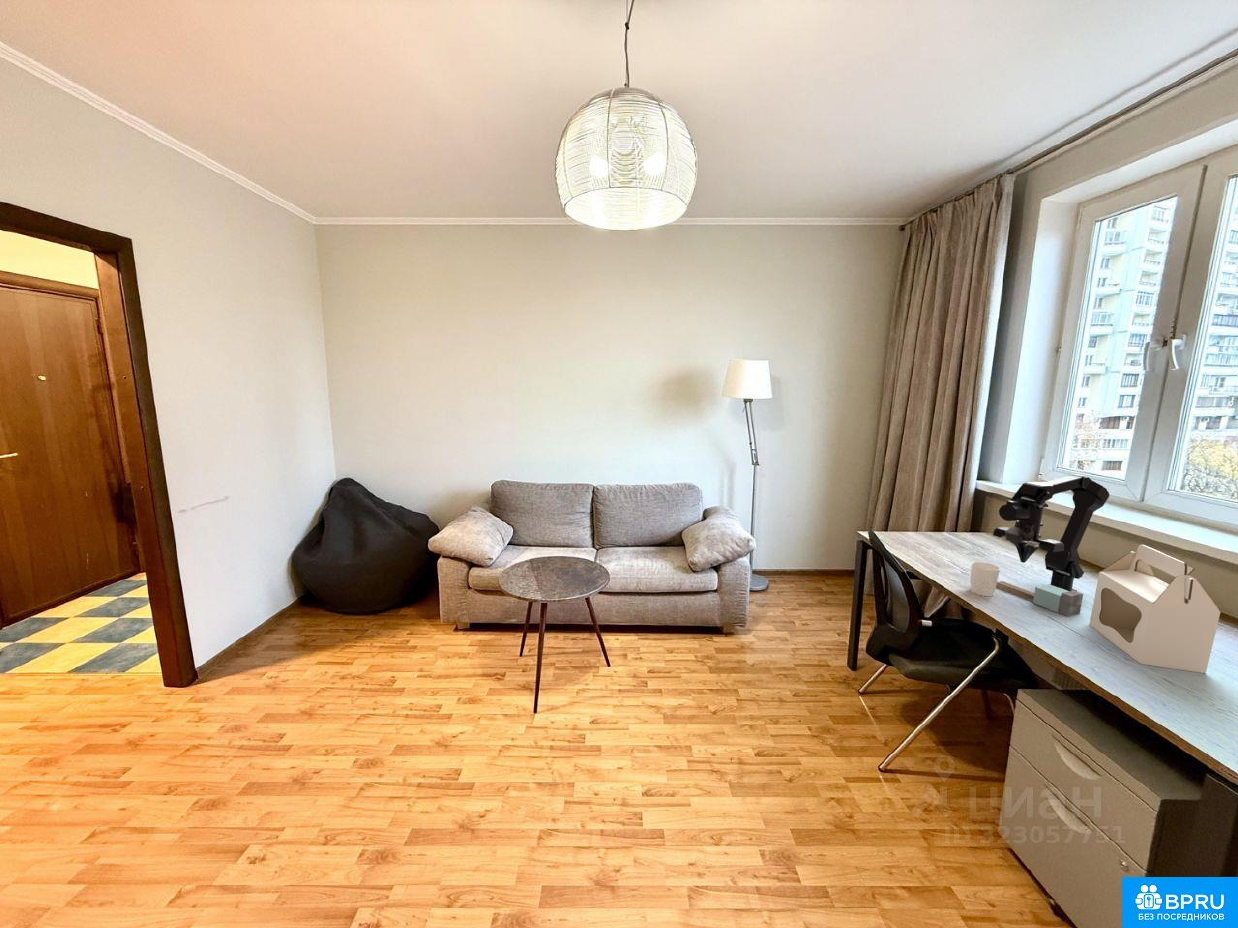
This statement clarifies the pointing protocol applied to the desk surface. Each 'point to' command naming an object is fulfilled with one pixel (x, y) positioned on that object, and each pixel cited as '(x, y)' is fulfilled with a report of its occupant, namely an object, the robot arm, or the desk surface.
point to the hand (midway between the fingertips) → (1023, 562)
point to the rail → (1068, 602)
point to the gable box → (1155, 611)
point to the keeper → (1048, 597)
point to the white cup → (984, 578)
